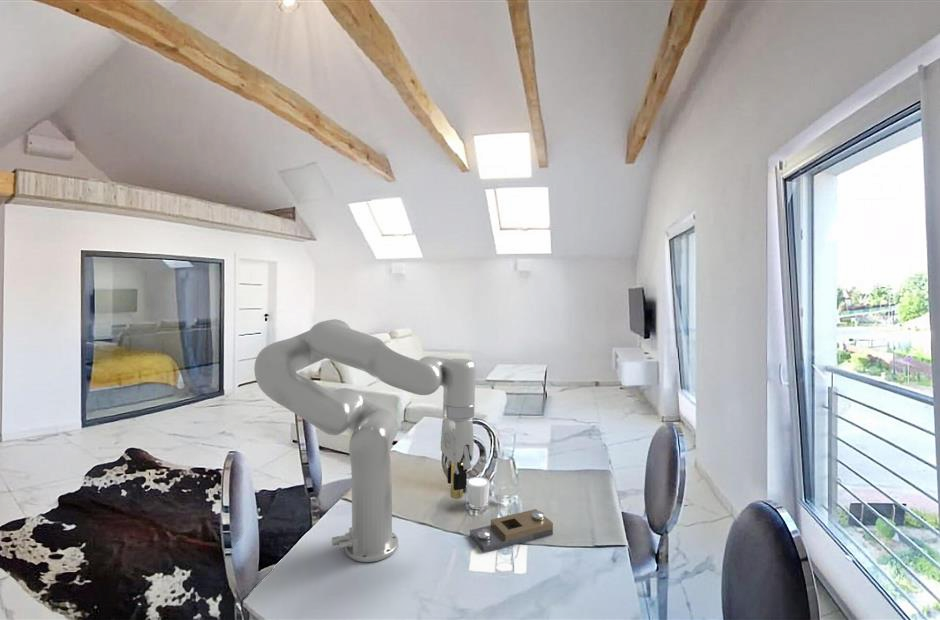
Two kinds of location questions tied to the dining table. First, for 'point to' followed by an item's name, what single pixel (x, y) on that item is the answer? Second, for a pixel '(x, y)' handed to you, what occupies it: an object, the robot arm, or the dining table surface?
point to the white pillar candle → (478, 491)
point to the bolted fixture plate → (512, 530)
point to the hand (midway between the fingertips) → (456, 485)
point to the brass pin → (454, 493)
